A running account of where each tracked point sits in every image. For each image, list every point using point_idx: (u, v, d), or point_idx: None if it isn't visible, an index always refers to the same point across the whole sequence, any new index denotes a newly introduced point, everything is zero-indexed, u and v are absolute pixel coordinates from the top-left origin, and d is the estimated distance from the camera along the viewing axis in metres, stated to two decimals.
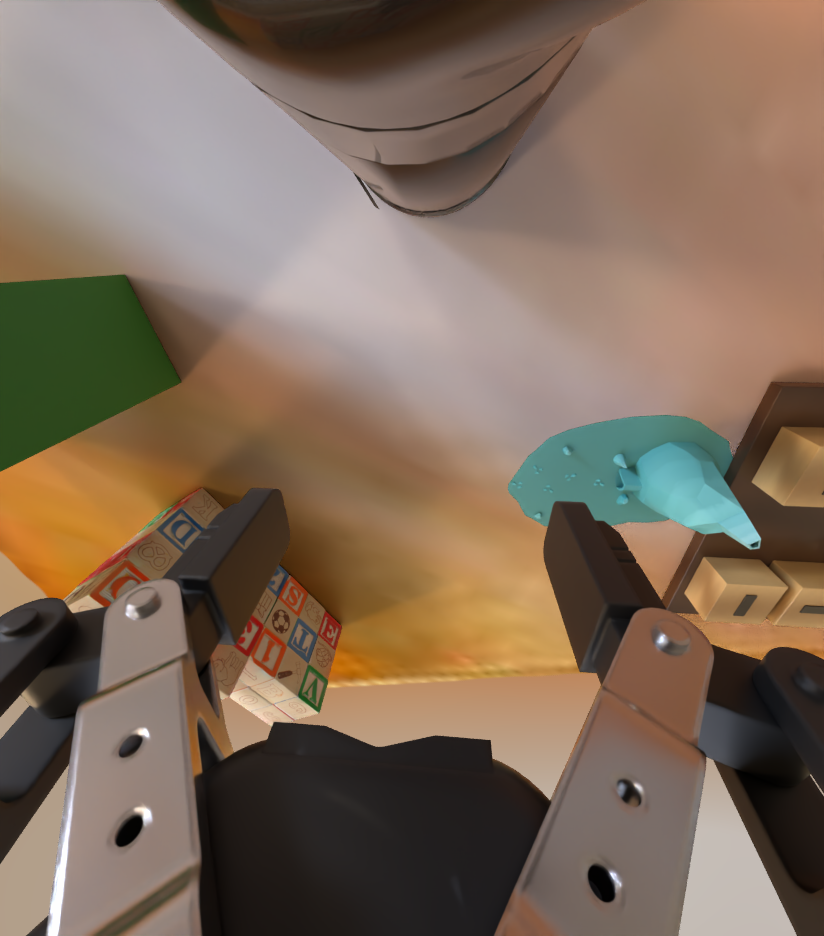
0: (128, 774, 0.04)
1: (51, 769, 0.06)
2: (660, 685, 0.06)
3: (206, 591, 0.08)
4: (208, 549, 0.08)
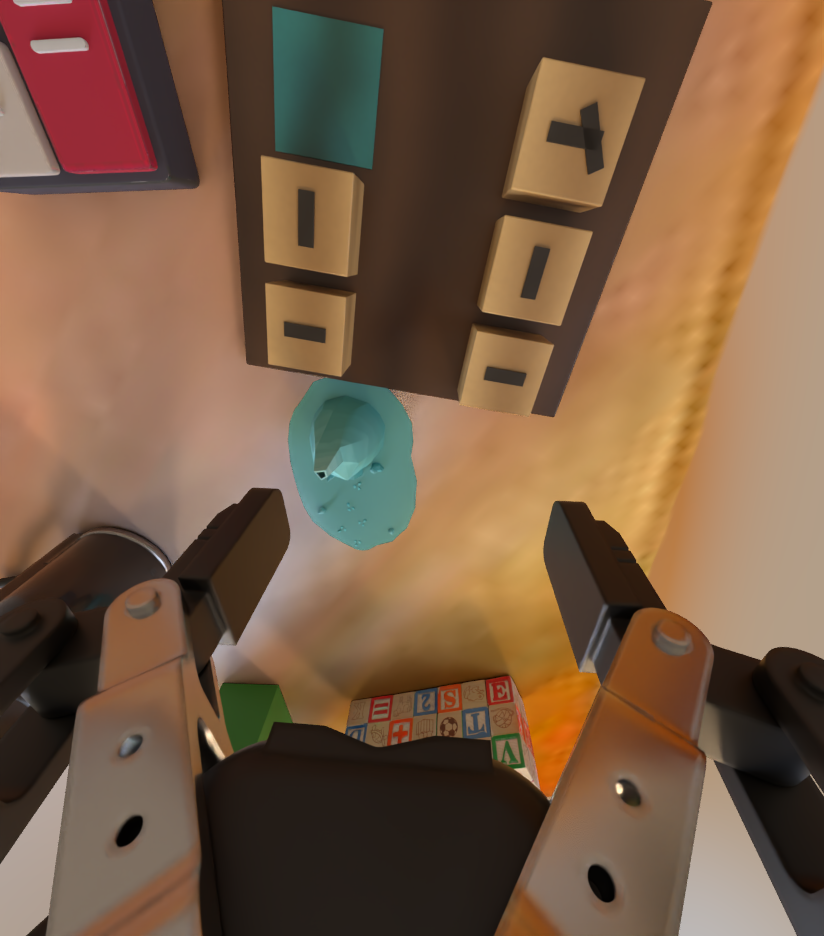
0: (128, 774, 0.04)
1: (51, 769, 0.06)
2: (660, 685, 0.05)
3: (206, 591, 0.08)
4: (208, 549, 0.08)
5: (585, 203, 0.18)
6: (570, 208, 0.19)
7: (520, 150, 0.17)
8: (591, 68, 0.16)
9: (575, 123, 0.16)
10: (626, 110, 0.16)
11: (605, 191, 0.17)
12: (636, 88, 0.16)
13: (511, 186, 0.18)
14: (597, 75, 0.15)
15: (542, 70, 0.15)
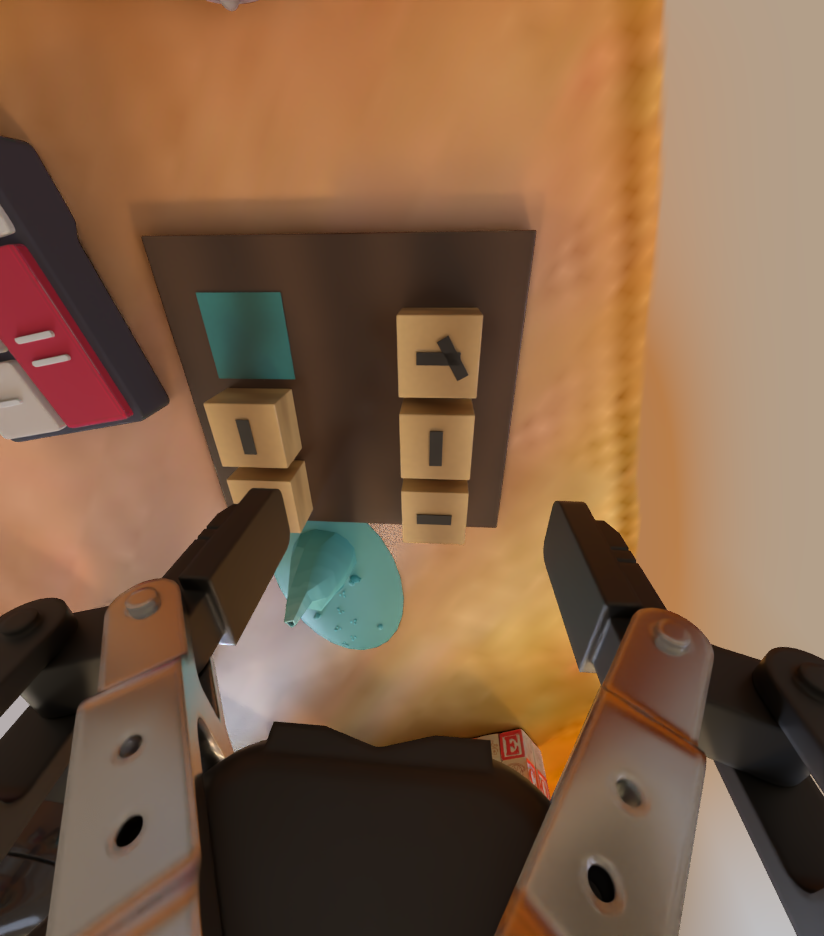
0: (128, 774, 0.04)
1: (51, 769, 0.06)
2: (660, 685, 0.06)
3: (206, 591, 0.08)
4: (208, 549, 0.08)
5: (462, 397, 0.21)
6: None
7: (398, 372, 0.21)
8: (438, 313, 0.19)
9: (436, 350, 0.20)
10: (474, 336, 0.19)
11: (475, 389, 0.21)
12: (477, 322, 0.19)
13: None
14: (443, 319, 0.19)
15: (398, 323, 0.19)
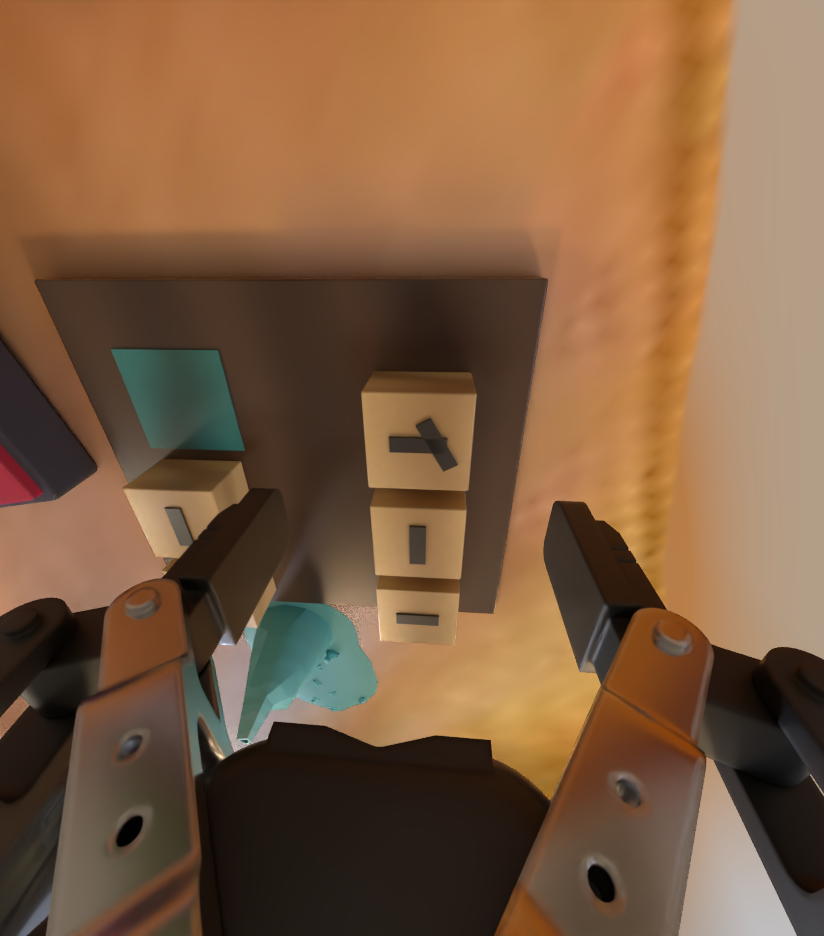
0: (128, 774, 0.04)
1: (51, 769, 0.06)
2: (660, 685, 0.05)
3: (206, 591, 0.08)
4: (208, 549, 0.08)
5: (450, 489, 0.16)
6: None
7: (367, 458, 0.16)
8: (416, 390, 0.14)
9: (414, 435, 0.15)
10: (465, 420, 0.15)
11: (467, 480, 0.16)
12: (469, 402, 0.14)
13: (368, 484, 0.17)
14: (423, 398, 0.14)
15: (364, 402, 0.14)
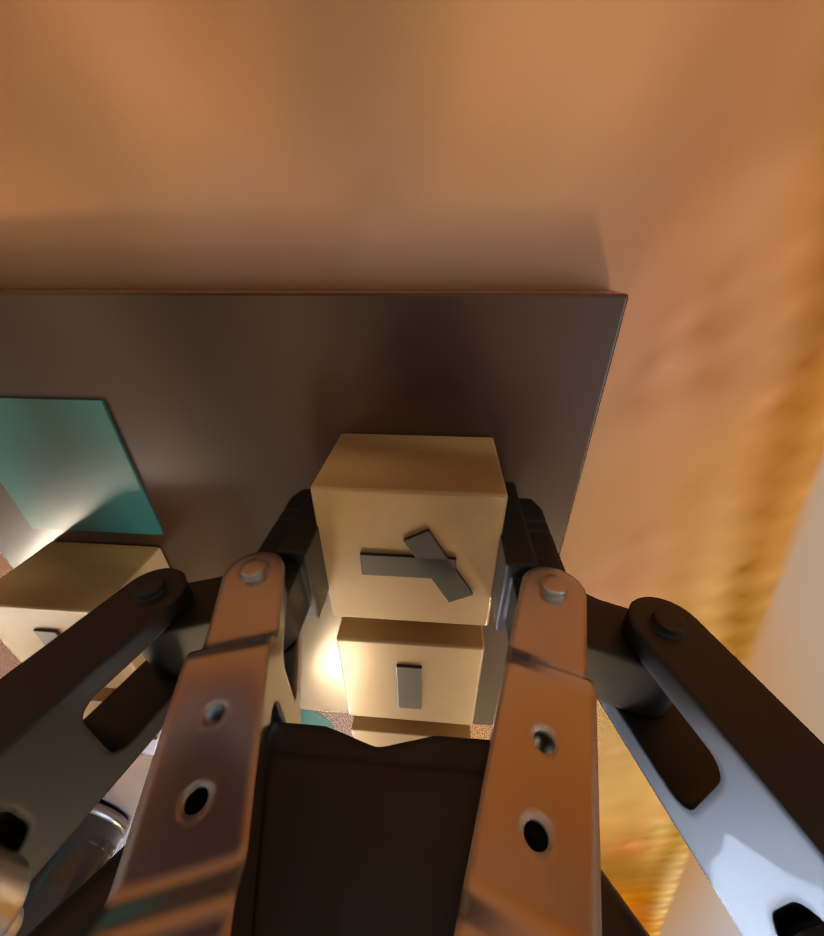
0: (206, 742, 0.04)
1: (149, 727, 0.07)
2: (530, 625, 0.06)
3: (301, 565, 0.08)
4: (297, 527, 0.09)
5: (459, 621, 0.10)
6: None
7: (327, 579, 0.10)
8: (405, 485, 0.08)
9: (402, 551, 0.09)
10: (487, 533, 0.09)
11: (486, 614, 0.10)
12: (494, 508, 0.08)
13: None
14: (416, 500, 0.08)
15: (316, 503, 0.09)
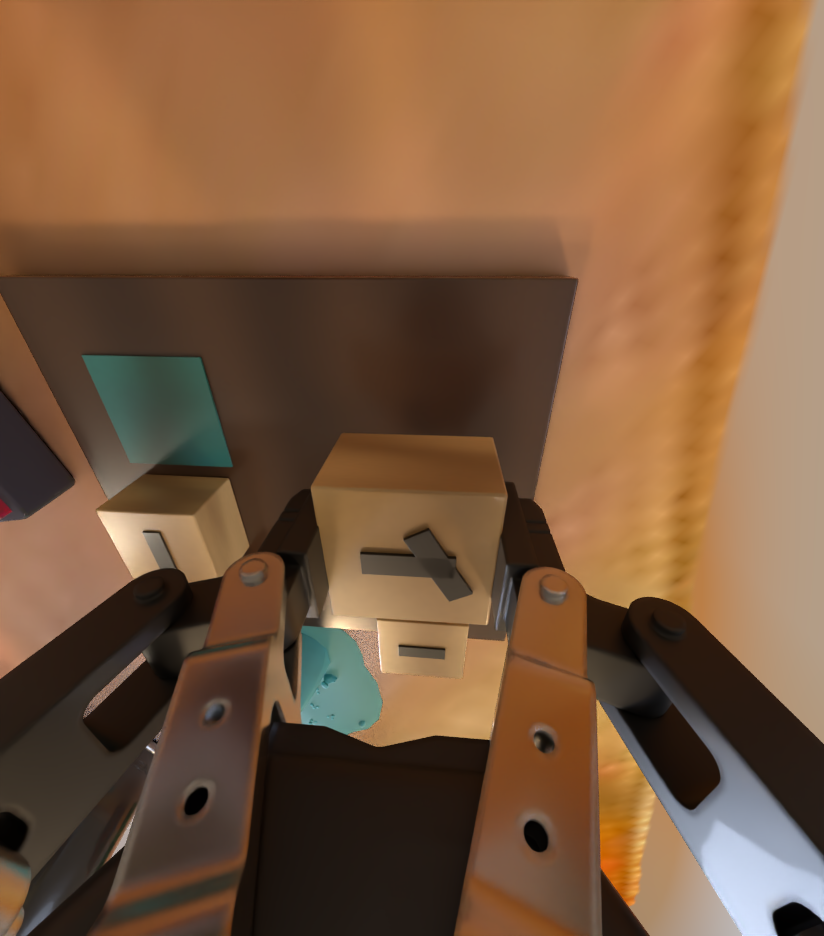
0: (206, 742, 0.04)
1: (149, 727, 0.07)
2: (531, 626, 0.06)
3: (301, 565, 0.08)
4: (296, 527, 0.09)
5: (459, 621, 0.10)
6: None
7: (327, 578, 0.10)
8: (405, 484, 0.08)
9: (402, 551, 0.09)
10: (487, 532, 0.09)
11: (486, 613, 0.10)
12: (494, 507, 0.08)
13: None
14: (416, 499, 0.08)
15: (317, 502, 0.09)
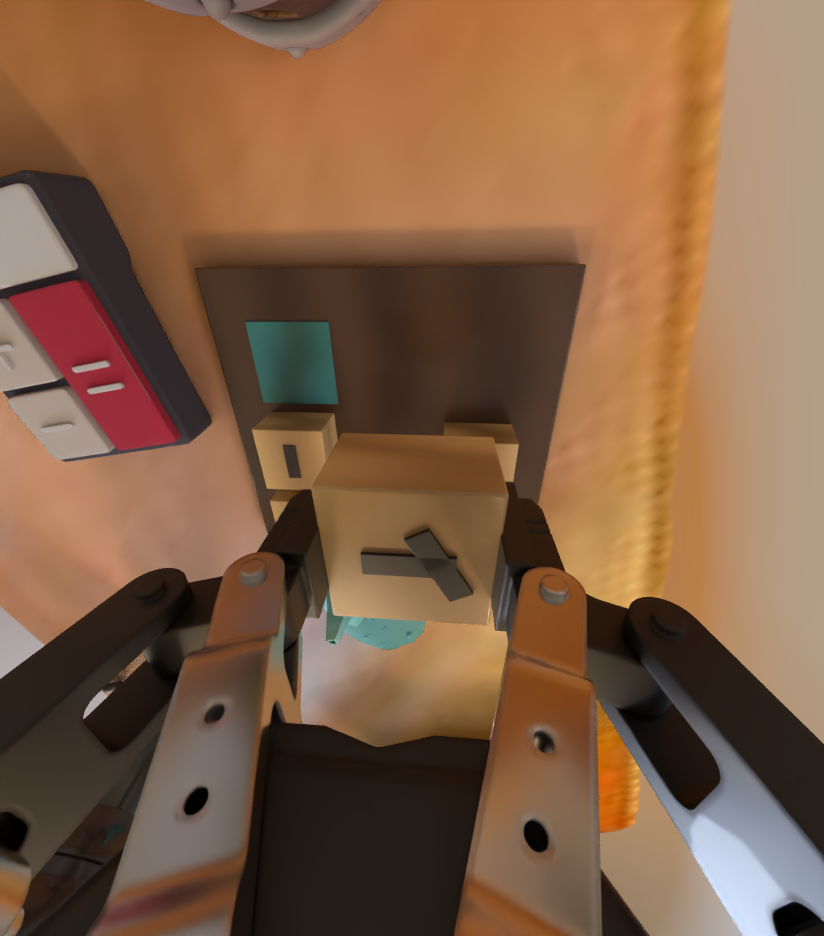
0: (206, 742, 0.04)
1: (149, 727, 0.07)
2: (531, 625, 0.06)
3: (301, 565, 0.08)
4: (296, 528, 0.09)
5: (460, 621, 0.10)
6: None
7: (328, 578, 0.10)
8: (405, 484, 0.08)
9: (403, 551, 0.09)
10: (488, 532, 0.09)
11: (487, 613, 0.10)
12: (495, 508, 0.08)
13: None
14: (416, 499, 0.08)
15: (317, 502, 0.09)
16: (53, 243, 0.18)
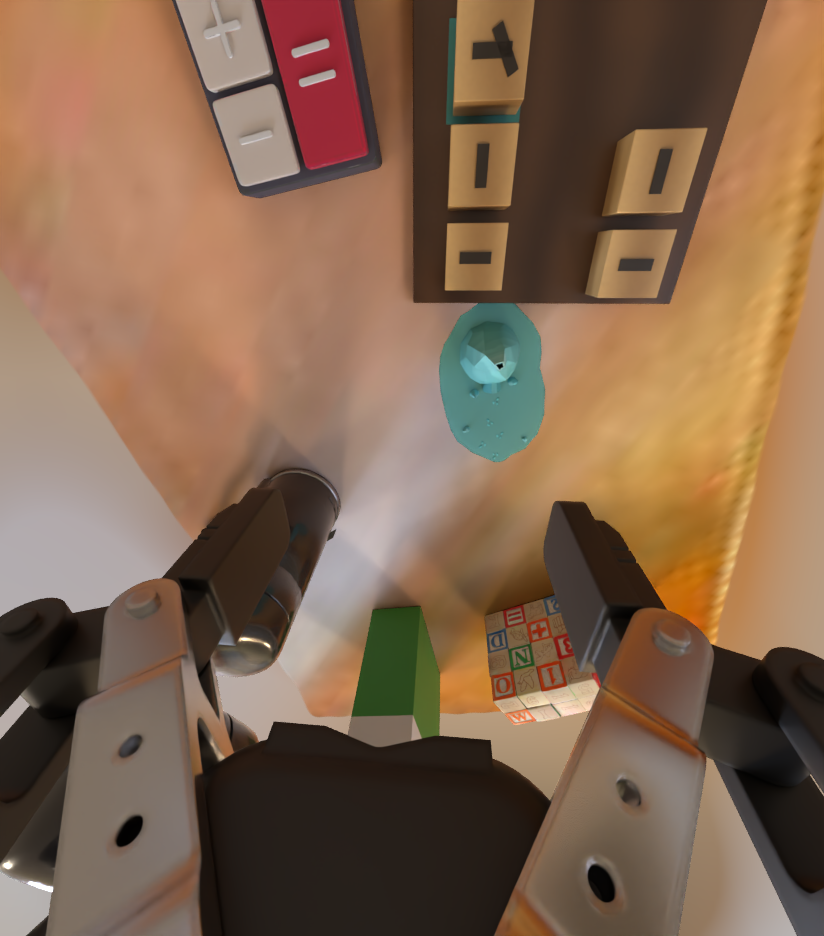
0: (128, 774, 0.04)
1: (50, 769, 0.06)
2: (660, 685, 0.05)
3: (206, 591, 0.08)
4: (208, 549, 0.08)
5: (511, 100, 0.24)
6: (505, 111, 0.25)
7: (455, 70, 0.23)
8: None
9: (490, 40, 0.22)
10: (526, 21, 0.22)
11: (523, 87, 0.23)
12: (529, 3, 0.21)
13: (453, 100, 0.24)
14: (499, 1, 0.21)
15: (459, 7, 0.22)
16: None
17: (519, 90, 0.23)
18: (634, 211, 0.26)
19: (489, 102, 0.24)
